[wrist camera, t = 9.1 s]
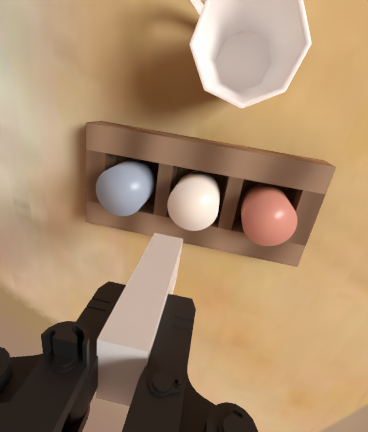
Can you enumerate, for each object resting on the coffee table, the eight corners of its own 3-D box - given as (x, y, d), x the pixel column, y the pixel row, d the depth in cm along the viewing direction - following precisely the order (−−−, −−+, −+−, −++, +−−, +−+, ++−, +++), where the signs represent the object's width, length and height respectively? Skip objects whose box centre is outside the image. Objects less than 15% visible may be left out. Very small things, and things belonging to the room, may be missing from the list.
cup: (236, 125, 25) (239, 132, 17) (162, 36, 23) (130, 2, 16) (302, 64, 22) (339, 43, 15) (224, -41, 20) (221, -126, 13)
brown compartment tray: (98, 211, 30) (85, 221, 28) (100, 121, 26) (85, 122, 24) (290, 251, 29) (297, 266, 26) (324, 160, 25) (335, 167, 22)
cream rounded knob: (173, 209, 27) (164, 225, 23) (179, 167, 25) (170, 177, 22) (215, 217, 27) (213, 235, 23) (224, 176, 25) (223, 187, 21)
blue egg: (113, 197, 28) (95, 210, 24) (114, 155, 26) (96, 163, 22) (153, 205, 27) (141, 220, 24) (158, 163, 26) (146, 172, 22)
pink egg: (235, 222, 27) (236, 240, 23) (246, 180, 25) (249, 192, 21) (279, 230, 26) (287, 251, 23) (293, 189, 24) (304, 203, 21)
